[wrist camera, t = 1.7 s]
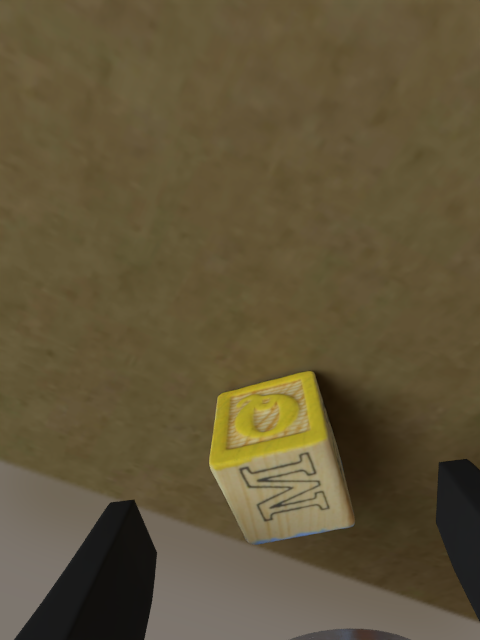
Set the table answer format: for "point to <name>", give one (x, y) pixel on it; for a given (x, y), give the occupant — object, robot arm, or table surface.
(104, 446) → the table surface
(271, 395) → the alphabet block
